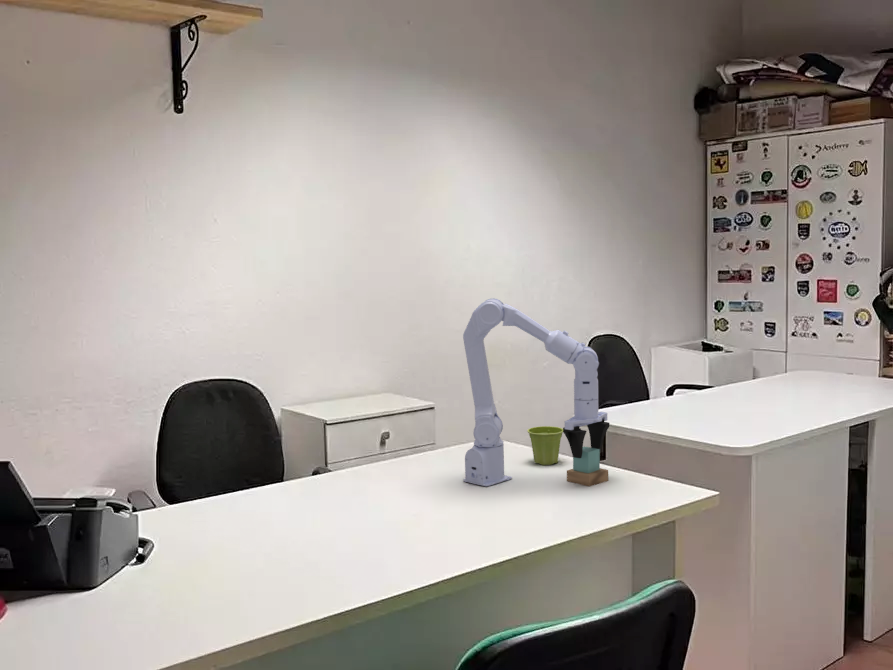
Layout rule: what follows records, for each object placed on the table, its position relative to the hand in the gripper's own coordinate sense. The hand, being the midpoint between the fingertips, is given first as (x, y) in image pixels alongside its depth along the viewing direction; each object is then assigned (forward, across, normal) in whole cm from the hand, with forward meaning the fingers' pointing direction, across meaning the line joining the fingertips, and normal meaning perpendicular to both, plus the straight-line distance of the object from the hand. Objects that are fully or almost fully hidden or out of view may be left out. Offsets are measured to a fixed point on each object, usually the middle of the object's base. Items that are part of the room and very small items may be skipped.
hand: (586, 454), depth 215 cm
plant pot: (+7, +8, +19) cm, 22 cm away
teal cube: (+4, 0, 0) cm, 4 cm away
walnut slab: (+7, 0, 0) cm, 7 cm away
